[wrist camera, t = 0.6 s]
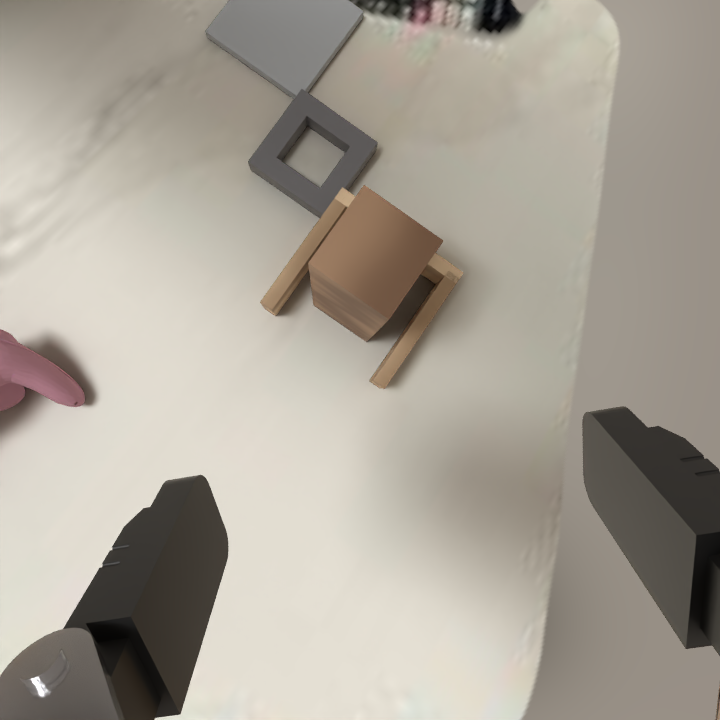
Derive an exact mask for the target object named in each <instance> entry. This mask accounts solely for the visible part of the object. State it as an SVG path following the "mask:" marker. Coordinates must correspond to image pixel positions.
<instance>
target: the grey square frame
mask: <svg viewBox="0 0 720 720" xmlns="http://www.w3.org/2000/svg"><path fill="white" fill-rule="evenodd" d="M307 126H309V127H310V128H311V129H313V130H314V131H316V132H317V133H319V134H320V135H321V136H323V137H324V138H326V139H327V140H328V141H330V142H331V143H333V144H334V145H335V146H337V147H338V148H340V149H341V150H343V151H344V152H345V154H344V156H343V157H342V159H341V160H340V161H339V163H338V164H337V166H336V167H335V168H334V170H333V171H332V172H331V174H330V175H329V177H328V178H327V179H326V181H325V182H324V184H323V185H322V186H321V188H319V187H318V186H316V185H315V184H313V183H312V182H310V181H309V180H308V179H306V178H305V177H303V176H302V175H301V174H299V173H298V172H296V171H295V170H293V169H292V168H291V167H289V166H288V165H286V164H285V163H283V162H282V160H283V158H284V157H285V156H286V154H287V153H288V152H289V150H290V149H291V147H292V146H293V145H294V143H295V142H296V141H297V139H298V138H299V136H300V135H301V134H302V132H303V131H304V130H305V128H306V127H307ZM377 143H378V142H376V141H375V140H374V139H372V138H371V137H369V136H368V135H366V134H365V133H364V132H362V131H361V130H359V129H358V128H357V127H355V126H354V125H352V124H351V123H350V122H348V121H347V120H345V119H344V118H343V117H341V116H340V115H338V114H337V113H335V112H334V111H333V110H331V109H330V108H328V107H327V106H326V105H324V104H323V103H321V102H320V101H319V100H317V99H316V98H314V97H313V96H312V95H310V94H309V93H307V92H306V91H305V90H303V89H301V90H300V92H299V93H298V95H297V96H296V97H295V99H294V100H293V101H292V103H291V104H290V105H289V107H288V108H287V109H286V111H285V112H284V113H283V115H282V116H281V118H280V119H279V120H278V122H277V123H276V124H275V126H274V127H273V128H272V130H271V131H270V132H269V134H268V135H267V136H266V138H265V139H264V141H263V142H262V143H261V145H260V146H259V147H258V149H257V150H256V151H255V153H254V154H253V155H252V157H251V158H250V159H249V161H248V163H249V166H250V169H251V170H252V171H253V172H254V173H256V174H257V175H259V176H260V177H262V178H263V179H264V180H266V181H267V182H269V183H270V184H272V185H273V186H274V187H276V188H277V189H279V190H280V191H282V192H283V193H284V194H286V195H287V196H289V197H290V198H292V199H293V200H294V201H296V202H297V203H299V204H300V205H302V206H303V207H304V208H306V209H307V210H309V211H310V212H312V213H313V214H314V215H316V216H317V217H319V218H321V216H322V215H323V214H324V212H325V211H326V209H327V208H328V207H329V205H330V204H331V202H332V201H333V200H334V198H335V197H336V196H337V194H338V193H339V191H340V190H341V189H342V187H343V188H344V189H346V190H347V191H348V189H349V188H350V186H351V185H352V184H353V182H354V181H355V179H356V178H357V177H358V175H359V174H360V173H361V171H362V170H363V168H364V167H365V166H366V164H367V163H368V161H369V160H370V159H371V157H372V156H373V154H374V153H375V152H376V147H377Z"/></svg>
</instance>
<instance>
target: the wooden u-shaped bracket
mask: <svg viewBox="0 0 720 720" xmlns="http://www.w3.org/2000/svg"><path fill="white" fill-rule="evenodd" d="M355 197H356V196H354V195H353V194H351V193H350V192H349V191H347V190H346V189H344V188H343V187H342V189H341V190H340V191H339V193H338V194H337V196H336V197H335V198H334V200H333V201H332V202H331V204H330V205H329V207H328V208H327V209H326V211H325V212H324V214H323V215H322V216H321V218H320V219H319V221H318V222H317V223H316V225H315V226H314V228H313V229H312V230H311V232H310V233H309V235H308V236H307V237H306V239H305V240H304V242H303V243H302V244H301V246H300V247H299V249H298V250H297V251H296V253H295V254H294V256H293V257H292V258H291V260H290V261H289V262H288V264H287V265H286V267H285V268H284V269H283V271H282V272H281V274H280V275H279V276H278V278H277V279H276V281H275V282H274V283H273V285H272V286H271V288H270V289H269V290H268V292H267V293H266V295H265V296H264V297H263V299H262V300H261V302H260V303H261V304H262V306H263V307H264V308H265V309H266V310H267V311H269V312H270V313H272V314H273V315H275V316H276V315H277V314H278V312H279V311H280V310H281V308H282V307H283V305H284V304H285V303H286V301H287V300H288V298H289V297H290V296H291V294H292V293H293V291H294V290H295V289H296V287H297V286H298V284H299V283H300V282H301V280H302V279H303V277H304V276H305V275H306V273H307V272H308V270H309V265H308V263H309V261H310V260H311V259H312V257H313V256H314V254H315V253H316V251H317V250H318V249H319V247H320V246H321V244H322V243H323V242H324V240H325V239H326V237H327V236H328V235H329V233H330V232H331V230H332V229H333V228H334V226H335V225H336V223H337V222H338V221H339V219H340V218H341V216H342V215H343V214H344V212H345V211H346V209H347V208H348V207H349V205H350V204H351V202H352V201H353V200H354V198H355ZM421 274H422V275H423V276H424V277H426V278H427V279H429V280H430V281H432V282H433V283H434V284H435V286H434V287H433V289H432V290H431V292H430V293H429V295H428V296H427V298H426V299H425V300H424V302H423V303H422V305H421V306H420V308H419V309H418V311H417V312H416V314H415V315H414V316H413V318H412V319H411V321H410V322H409V324H408V325H407V327H406V328H405V330H404V331H403V333H402V334H401V335H400V337H399V338H398V340H397V341H396V343H395V344H394V346H393V347H392V349H391V350H390V352H389V353H388V354H387V356H386V357H385V359H384V360H383V362H382V363H381V365H380V366H379V368H378V369H377V370H376V372H375V373H374V375H373V376H372V378H371V379H370V382H371V383H373V384H374V385H376V386H377V387H379V388H382V389H385V387H386V386H387V385H388V383H389V382H390V380H391V379H392V377H393V376H394V374H395V373H396V371H397V370H398V368H399V367H400V365H401V364H402V362H403V361H404V360H405V358H406V357H407V355H408V354H409V352H410V351H411V349H412V348H413V346H414V345H415V343H416V342H417V340H418V339H419V338H420V336H421V335H422V333H423V332H424V330H425V329H426V327H427V326H428V324H429V323H430V321H431V320H432V318H433V317H434V316H435V314H436V313H437V311H438V310H439V308H440V307H441V305H442V304H443V302H444V301H445V299H446V298H447V296H448V295H449V294H450V292H451V291H452V289H453V288H454V286H455V285H456V283H457V282H458V280H459V279H460V277H461V276H462V274H463V272H462V271H461V270H459V269H458V268H456V267H455V266H453V265H452V264H451V263H449V262H448V261H446V260H445V259H444V258H442V257H441V256H439V255H438V254H436V253H435V254H434V255H433V257H432V258H431V260H430V261H429V263H428V264H427V265H426V267H425V268H424V270H423V271H422V273H421Z"/></svg>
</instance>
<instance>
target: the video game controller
mask: <svg viewBox="0 0 720 720" xmlns="http://www.w3.org/2000/svg"><path fill="white" fill-rule="evenodd" d="M24 386H25V387H27V388H29V389H32V390H34V391H36V392H38V393H40V394H42V395H44V396H45V397H47V398H49V399H51V400H53V401H55V402H56V403H58V404H62V405H66V406H72V407H78V406H81V405H83V404H84V402H85V395H84V392H83V390H82V388H81V387H80V386H79V385H78V383H77V382H76V381H75V380H74V379H73V378H72V377H71V376H70V375H68V374H67V373H66V372H65V371H64V370H62V369H61V368H60V367H58V366H57V365H55V364H54V363H52V362H51V361H49V360H48V359H46V358H44V357H43V356H41V355H39V354H37V353H36V352H34V351H32V350H30V349H29V348H27V347H25V346H23V345H22V344H20V343H18V342H17V340H16V339H15V338H14V337H13V336H12V335H11V334H9V333H8V332H6V331H3V330H0V411H3V410H5V409H8V408H11V407H13V406H14V405H16V404H18V403H19V402H20V401H21V400H22V399H23V398H24V396H25V389H24Z"/></svg>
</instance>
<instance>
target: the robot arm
mask: <svg viewBox="0 0 720 720" xmlns="http://www.w3.org/2000/svg"><path fill="white" fill-rule="evenodd" d="M583 475H584V483H585V487H586V491H587V494H588V497H589V499H590V502H591V503H592V505H593V507H594V508H595V510H596V512H597V513H598V515H599V516H600V518H601V519H602V521H603V522H604V524H605V526H606V527H607V528H608V530H609V532H610V533H611V535H612V536H613V538H614V539H615V541H616V542H617V544H618V545H619V547H620V549H621V550H622V552H623V553H624V555H625V556H626V558H627V559H628V561H629V562H630V564H631V565H632V567H633V568H634V570H635V572H636V573H637V574H638V576H639V578H640V579H641V580H642V582H643V584H644V585H645V587H646V588H647V590H648V591H649V593H650V595H651V596H652V597H653V599H654V601H655V602H656V604H657V605H658V607H659V608H660V610H661V611H662V612H663V615H664V616H665V618H666V619H667V621H668V622H669V623H670V625H671V627H672V628H673V630H674V631H675V633H676V634H677V636H678V637H679V639H680V641H681V642H682V644H683V645H684V647H685V648H686V649H689V648H696V647H704V646H711V645H712V646H713V647H714V648H715V650H716V651H717V653H718V654H719V655H720V472H719V469H718V468H717V467H716V466H715V465H714V464H712V463H711V462H710V461H709V460H708V459H704V457H703V455H702V454H701V453H700V452H699V451H698V450H697V449H696V448H695V447H694V446H693V445H691V444H690V443H689V442H688V441H687V440H686V439H685V438H683V437H680V436H678V435H676V434H674V433H672V432H670V431H668V430H666V429H663V428H661V427H659V426H656V427H650V428H648V427H646V426H645V425H644V424H643V423H642V422H641V421H640V420H639V419H638V418H637V417H636V416H635V415H634V414H633V413H632V412H631V411H630V410H629V409H628V408H626V407H616V408H611V409H604V410H598V411H592V412H587V413H585V414H584V416H583ZM112 547H113V550H111V551H109V553H108V555H107V556H106V558H105V560H104V561H103V563H102V564H103V567H102V568H99V570H98V571H97V573H96V575H95V577H94V578H93V580H92V582H91V583H90V585H89V587H88V588H87V590H86V592H85V593H84V595H83V597H82V598H81V600H80V602H79V603H78V605H77V607H76V608H75V610H74V612H73V613H72V615H71V617H70V618H69V620H68V622H67V623H66V625H65V627H64V628H63V629H62V630H59V631H55V632H53V633H51V634H48V635H46V636H44V637H43V638H41V639H39V640H37V641H36V642H34V643H33V644H31V645H30V646H29V647H27V648H26V649H25V650H23V651H22V652H21V653H20V654H19V655H18V656H17V657H16V658H15V659H14V660H13V661H12V662H11V663H10V664H9V665H8V666H7V667H6V669H5V670H4V671H3V673H2V674H1V676H0V720H154V719H155V718H157V717H165V716H172V715H179V714H181V711H182V707H183V704H184V701H185V697H186V694H187V691H188V687H189V684H190V681H191V678H192V674H193V671H194V668H195V664H196V661H197V658H198V655H199V651H200V648H201V645H202V641H203V638H204V635H205V632H206V628H207V625H208V622H209V618H210V615H211V612H212V608H213V605H214V602H215V599H216V595H217V592H218V589H219V585H220V582H221V579H222V576H223V572H224V569H225V566H226V562H227V558H228V537H227V533H226V529H225V526H224V524H223V521H222V518H221V516H220V513H219V510H218V507H217V505H216V502H215V499H214V497H213V494H212V491H211V488H210V486H209V483H208V481H207V479H206V478H205V477H204V476H202V475H198V476H192V477H186V478H179V479H173V480H168V481H166V482H165V483H164V484H163V485H162V487H161V489H160V491H159V493H158V494H157V496H156V498H155V500H154V502H153V503H152V505H151V507H148V508H143V509H142V510H141V511H140V512H139V513H138V514H137V515H136V516H135V517H134V518H133V519H132V520H131V521H130V522H129V523H128V524H127V525H126V526H124V528H123V530H122V531H121V533H120V535H119V536H118V538H117V540H116V541H115V543H114V545H113V546H112ZM716 720H720V686H719V694H718V703H717V711H716Z"/></svg>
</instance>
